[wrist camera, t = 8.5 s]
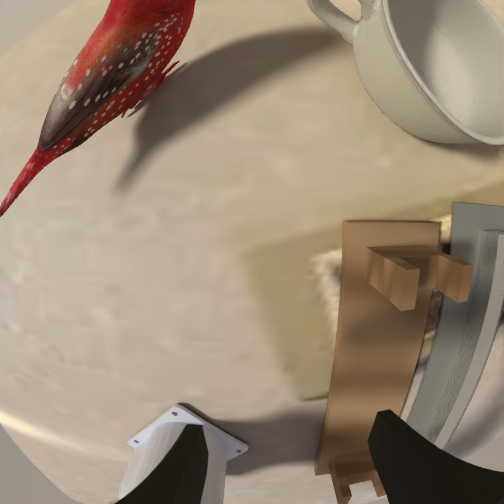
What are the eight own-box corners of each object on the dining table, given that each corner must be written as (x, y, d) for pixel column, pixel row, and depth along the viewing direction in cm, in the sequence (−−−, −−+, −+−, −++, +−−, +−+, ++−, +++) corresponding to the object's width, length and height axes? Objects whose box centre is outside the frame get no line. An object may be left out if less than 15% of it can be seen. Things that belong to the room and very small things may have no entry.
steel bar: (434, 439, 22) (441, 450, 20) (419, 444, 22) (426, 456, 20) (496, 230, 17) (513, 234, 15) (481, 229, 17) (498, 234, 15)
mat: (448, 439, 23) (449, 440, 22) (388, 460, 23) (389, 461, 22) (514, 208, 17) (516, 208, 16) (452, 201, 17) (454, 202, 16)
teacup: (471, 79, 14) (533, 56, 7) (439, 183, 17) (520, 188, 9) (327, -17, 13) (354, -82, 5) (266, 75, 15) (274, 3, 7)
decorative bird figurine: (241, 38, 15) (233, -68, 5) (63, 222, 17) (-42, 252, 7) (213, 17, 14) (187, -83, 4) (44, 196, 17) (-59, 210, 7)
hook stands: (375, 457, 22) (392, 497, 16) (314, 468, 22) (322, 514, 16) (431, 221, 17) (489, 236, 11) (342, 220, 17) (386, 237, 11)
